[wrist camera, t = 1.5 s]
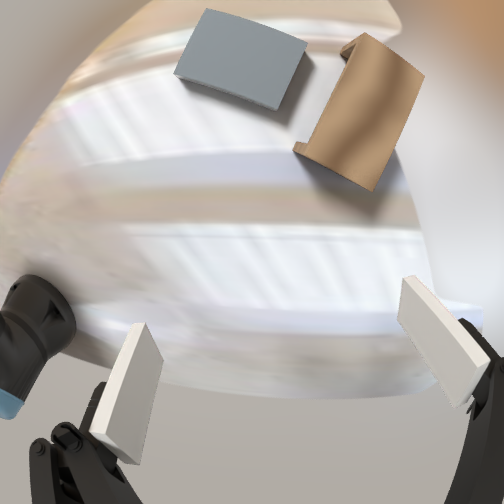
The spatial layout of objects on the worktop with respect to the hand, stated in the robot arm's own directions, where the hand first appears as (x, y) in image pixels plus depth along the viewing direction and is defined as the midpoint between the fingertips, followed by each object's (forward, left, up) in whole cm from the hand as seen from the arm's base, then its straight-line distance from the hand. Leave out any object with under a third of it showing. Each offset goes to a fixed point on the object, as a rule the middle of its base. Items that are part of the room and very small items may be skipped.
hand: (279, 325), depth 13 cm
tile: (-9, +15, -23) cm, 29 cm away
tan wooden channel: (+5, +15, -23) cm, 28 cm away
